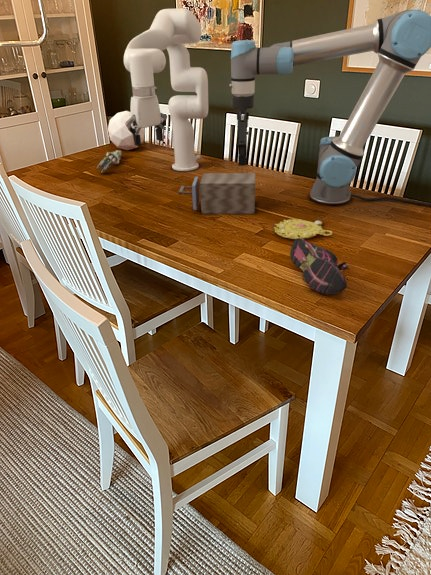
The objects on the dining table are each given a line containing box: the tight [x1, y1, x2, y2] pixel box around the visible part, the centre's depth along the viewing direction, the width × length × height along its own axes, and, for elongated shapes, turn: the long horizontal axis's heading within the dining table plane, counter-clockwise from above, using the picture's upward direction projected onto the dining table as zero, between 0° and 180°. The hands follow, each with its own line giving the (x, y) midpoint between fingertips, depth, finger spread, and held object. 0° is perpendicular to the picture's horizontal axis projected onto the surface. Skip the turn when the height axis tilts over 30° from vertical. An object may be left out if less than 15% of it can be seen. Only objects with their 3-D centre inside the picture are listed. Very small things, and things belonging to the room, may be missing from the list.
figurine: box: [96, 150, 123, 174], centre depth 213 cm, size 7×8×30 cm
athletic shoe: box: [289, 238, 350, 295], centre depth 119 cm, size 11×22×12 cm
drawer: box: [178, 176, 201, 211], centre depth 164 cm, size 24×10×9 cm, turn 86°
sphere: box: [107, 110, 146, 151], centre depth 234 cm, size 19×20×20 cm
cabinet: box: [199, 172, 256, 215], centre depth 163 cm, size 20×11×11 cm, turn 86°
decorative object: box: [273, 218, 333, 240], centre depth 145 cm, size 21×2×20 cm
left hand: (149, 143), depth 160 cm, fingers open, 9 cm apart
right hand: (242, 159), depth 156 cm, fingers open, 13 cm apart
